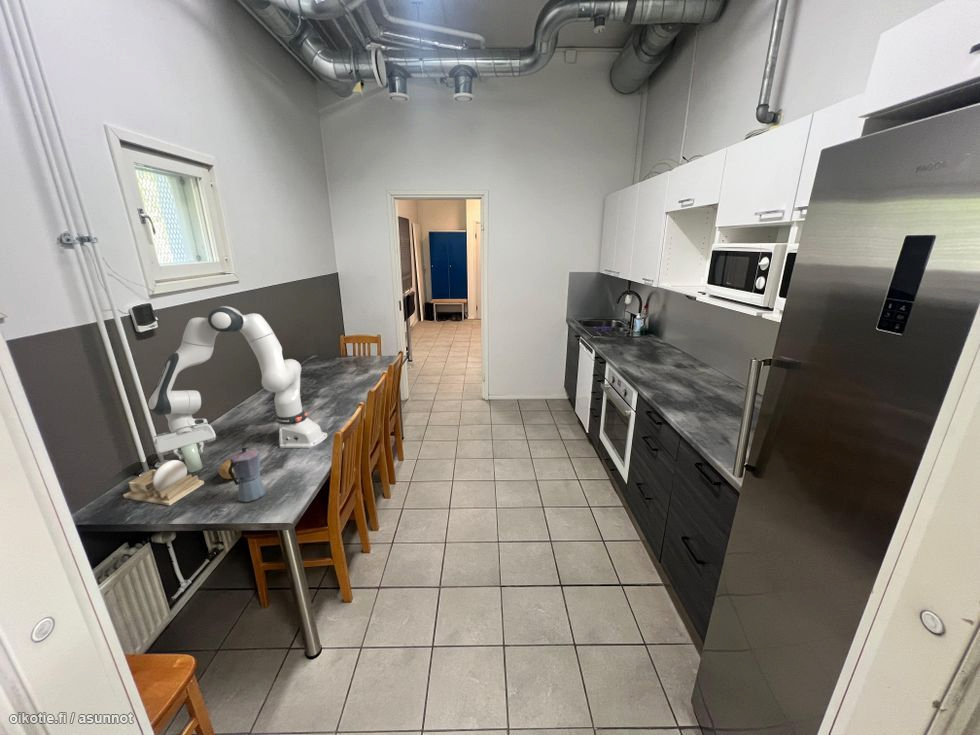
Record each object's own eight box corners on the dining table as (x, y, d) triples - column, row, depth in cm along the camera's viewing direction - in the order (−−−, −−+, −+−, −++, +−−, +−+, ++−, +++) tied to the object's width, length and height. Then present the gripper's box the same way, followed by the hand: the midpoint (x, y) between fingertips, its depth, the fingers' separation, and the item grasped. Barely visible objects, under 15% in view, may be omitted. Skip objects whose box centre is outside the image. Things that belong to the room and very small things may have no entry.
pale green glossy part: (205, 466, 166) (199, 443, 162) (194, 472, 161) (187, 449, 158) (196, 464, 167) (189, 442, 164) (184, 471, 162) (177, 448, 159)
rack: (204, 483, 153) (196, 454, 149) (169, 505, 141) (159, 474, 136) (161, 476, 158) (152, 448, 154) (124, 497, 145) (113, 467, 141)
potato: (258, 464, 166) (254, 448, 164) (240, 483, 153) (236, 466, 150) (234, 466, 166) (230, 449, 163) (215, 485, 152) (210, 468, 150)
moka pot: (275, 483, 153) (265, 439, 146) (253, 509, 138) (242, 460, 132) (251, 484, 152) (240, 440, 146) (227, 510, 138) (214, 461, 132)
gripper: (150, 432, 156) (159, 462, 153) (210, 417, 170) (219, 445, 166) (152, 438, 161) (161, 468, 157) (211, 423, 174) (220, 450, 170)
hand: (191, 456), depth 162 cm, fingers closed on pale green glossy part, 5 cm apart
